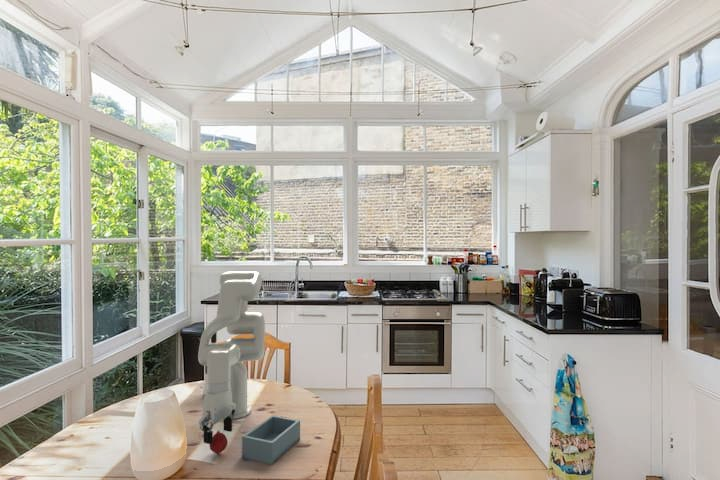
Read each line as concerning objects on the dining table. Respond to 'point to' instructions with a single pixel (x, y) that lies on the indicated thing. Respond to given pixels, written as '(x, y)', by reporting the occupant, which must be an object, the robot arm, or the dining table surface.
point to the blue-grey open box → (270, 439)
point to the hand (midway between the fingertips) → (218, 436)
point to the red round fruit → (218, 442)
